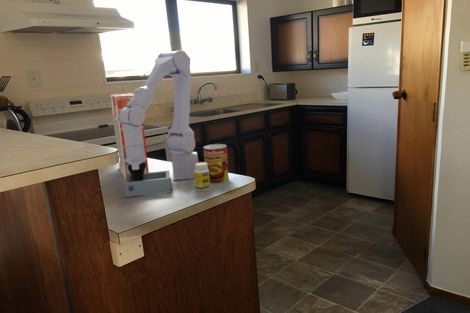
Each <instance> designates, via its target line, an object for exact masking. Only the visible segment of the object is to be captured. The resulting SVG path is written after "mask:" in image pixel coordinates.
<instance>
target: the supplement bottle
mask: <svg viewBox="0 0 470 313" xmlns="http://www.w3.org/2000/svg"><path fill="white" fill-rule="evenodd" d="M207 168H208V165H207V163H205V161H203V162H201V161H200V162H198V163H196V164H195V169H196V170H195V171H194V175H195V178H194V185H195V186H194V187H195V190H196V192H197V191H198V192H204V191H205V192H206V191H208V190H210V189H211V183H210V178H209V169H207Z"/></svg>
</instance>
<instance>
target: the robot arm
mask: <svg viewBox="0 0 470 313" xmlns="http://www.w3.org/2000/svg"><path fill="white" fill-rule="evenodd" d="M166 75H169V76H170V77H172V79H173V80H174V82H175V83H174V101H173V102H174V103H173V120H172V126H171V127H170V128H169V129H168V133H167V137H166V139H165V146H166V148H167V150H168V151H169V153H170V155H171V164H172V165H171V166H172V173H171V179H172V181H182V180H187V179H188V180H190V179H195V175H194V171H195V170H196V169H195V164H196V163H199V157H198V152H197V151H194V150H195V148H196V139H195V132H194V131H193V129H192V128H191V127H190V106H191V91H192V89H191V88H192V73H191V58H190V57H189V55H188V54H187V53H186V51H185V50H182V49H179V50H174V51H162V52H160V53H159V54H158V56H157V58H156V59H155V60H154V66H153V68H152V70H151V72H150V73H149V75H148V77H147V79H146V80H145V83H144V84H143V86H140V87H137V88H135V89H134V90H133V94H134V95H133V97H132V98H131V100H130V101H129V102H128V103H127V107H124V108H123V109H121V111H120V113H119V117H118V120H119V122H120V123H121V124H122V129H123V131H124V140H125V147H126V156H127V159H123V162H127V163H129V164H130V165H128V170H129V171H130V173H131V174H132V177H133V180H134V181H142V180H143V175H144V170H145V167H146V163H145V162H144V161H146V157H145V150H144V142H143V133H142V123H143V124H144V122H145V119H146V111H147V109H148V108H149V106H150V104H151V103H152V102H153V100H154V97H155V96H154V91H155V90H156V89H157V87H158V86H159V84H160V83H161V81H162V80H163V79H164V78H165V76H166Z"/></svg>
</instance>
